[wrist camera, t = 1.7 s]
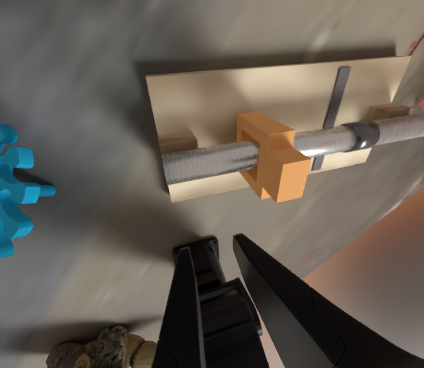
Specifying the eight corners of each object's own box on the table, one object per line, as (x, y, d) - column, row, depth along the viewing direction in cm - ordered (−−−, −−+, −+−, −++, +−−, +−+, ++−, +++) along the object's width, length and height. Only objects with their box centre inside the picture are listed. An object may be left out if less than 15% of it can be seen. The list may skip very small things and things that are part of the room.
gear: (-20, 81, 12) (35, 228, 11) (70, 116, 18) (113, 214, 17) (-114, 170, 14) (-78, 301, 13) (-7, 176, 20) (26, 267, 19)
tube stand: (355, 157, 28) (403, 180, 23) (170, 194, 22) (177, 236, 17) (396, 56, 21) (476, 56, 16) (145, 75, 16) (145, 85, 11)
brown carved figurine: (38, 341, 30) (0, 445, 22) (180, 299, 35) (190, 373, 27) (63, 361, 35) (39, 452, 27) (184, 322, 40) (194, 390, 32)
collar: (253, 164, 21) (298, 209, 15) (235, 168, 20) (274, 215, 14) (258, 111, 18) (316, 140, 12) (237, 114, 17) (286, 145, 11)
